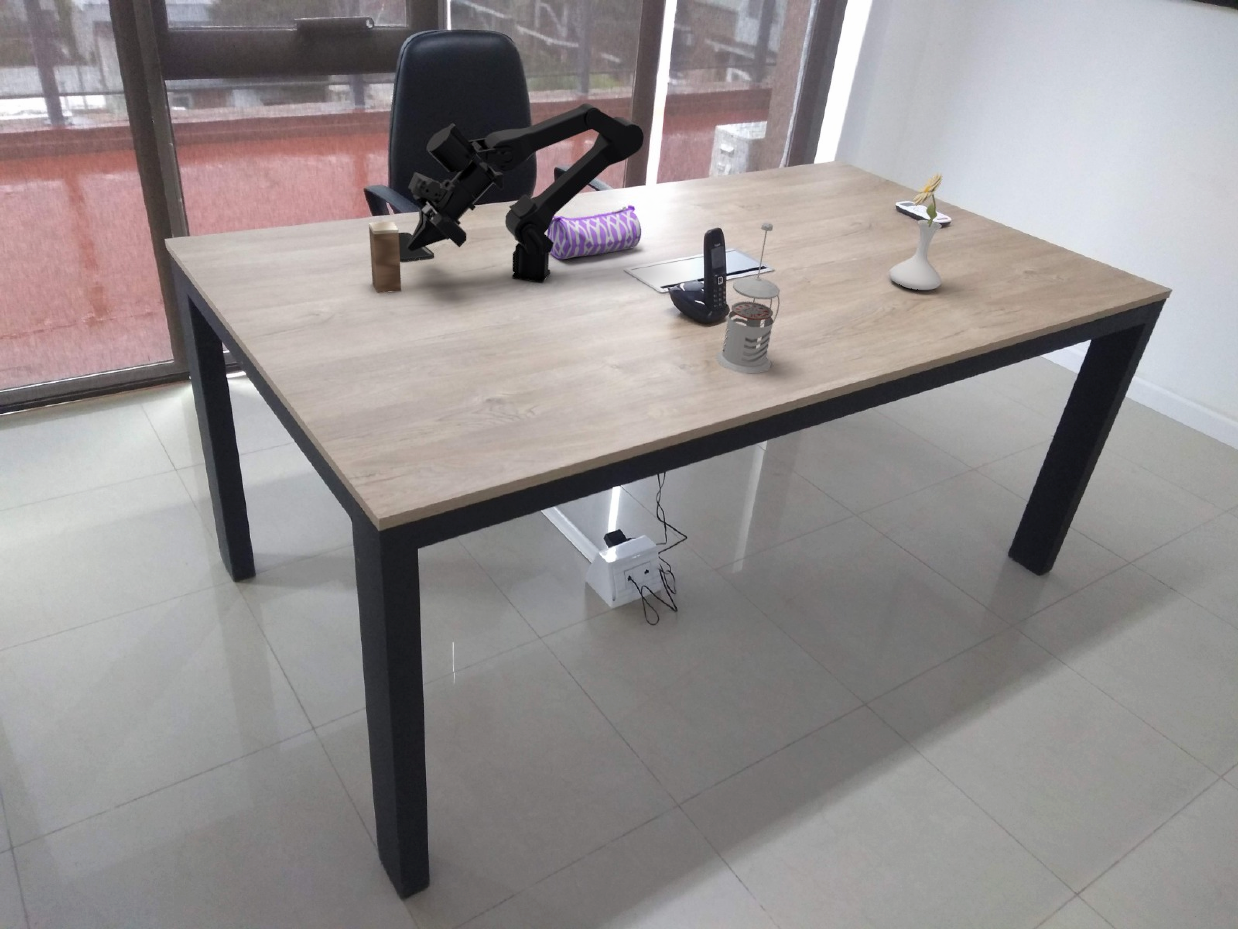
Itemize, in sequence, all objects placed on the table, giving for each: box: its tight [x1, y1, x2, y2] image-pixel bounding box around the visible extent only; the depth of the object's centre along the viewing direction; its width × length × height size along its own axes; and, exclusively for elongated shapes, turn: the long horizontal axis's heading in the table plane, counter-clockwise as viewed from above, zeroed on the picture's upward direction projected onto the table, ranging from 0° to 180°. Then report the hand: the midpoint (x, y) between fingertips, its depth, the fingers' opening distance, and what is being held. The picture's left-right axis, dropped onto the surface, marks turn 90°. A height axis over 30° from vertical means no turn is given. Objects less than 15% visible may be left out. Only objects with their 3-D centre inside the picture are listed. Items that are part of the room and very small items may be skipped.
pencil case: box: [546, 204, 642, 260], centre depth 199 cm, size 22×9×10 cm, turn 130°
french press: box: [715, 221, 781, 374], centre depth 155 cm, size 10×12×25 cm
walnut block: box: [368, 221, 402, 294], centre depth 172 cm, size 4×4×12 cm
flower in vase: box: [888, 172, 943, 291], centre depth 194 cm, size 13×11×25 cm
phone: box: [399, 231, 435, 263], centre depth 193 cm, size 8×1×15 cm
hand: (408, 249), depth 173 cm, fingers closed
